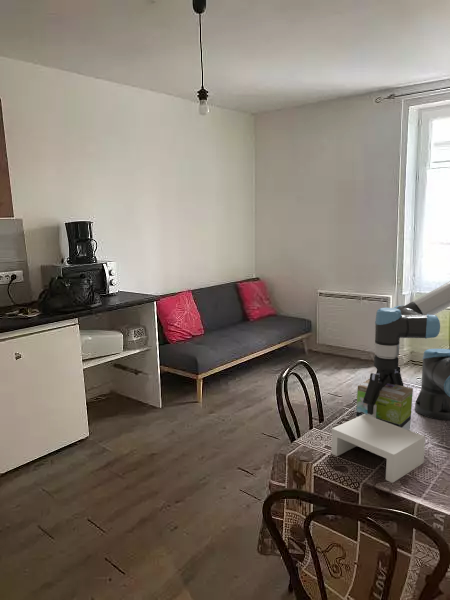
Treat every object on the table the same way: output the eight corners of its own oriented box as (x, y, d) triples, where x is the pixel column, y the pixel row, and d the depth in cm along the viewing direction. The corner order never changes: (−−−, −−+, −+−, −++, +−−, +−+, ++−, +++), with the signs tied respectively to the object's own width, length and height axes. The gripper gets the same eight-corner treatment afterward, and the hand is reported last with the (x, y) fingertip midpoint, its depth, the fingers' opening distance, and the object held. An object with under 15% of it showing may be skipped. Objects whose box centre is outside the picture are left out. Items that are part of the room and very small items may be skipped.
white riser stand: (363, 437, 144) (364, 414, 142) (423, 462, 128) (425, 436, 127) (331, 453, 134) (331, 428, 132) (392, 482, 118) (393, 454, 117)
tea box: (354, 426, 152) (356, 384, 149) (367, 417, 159) (369, 377, 157) (399, 440, 142) (402, 395, 139) (411, 429, 149) (413, 386, 147)
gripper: (396, 346, 157) (393, 404, 160) (353, 360, 142) (350, 423, 145) (417, 351, 151) (413, 411, 154) (374, 365, 136) (371, 432, 139)
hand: (383, 417), depth 150 cm, fingers open, 13 cm apart
